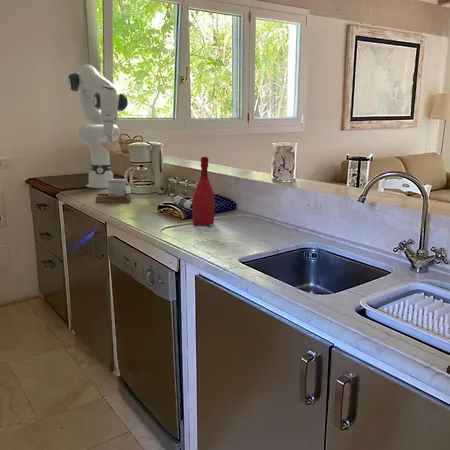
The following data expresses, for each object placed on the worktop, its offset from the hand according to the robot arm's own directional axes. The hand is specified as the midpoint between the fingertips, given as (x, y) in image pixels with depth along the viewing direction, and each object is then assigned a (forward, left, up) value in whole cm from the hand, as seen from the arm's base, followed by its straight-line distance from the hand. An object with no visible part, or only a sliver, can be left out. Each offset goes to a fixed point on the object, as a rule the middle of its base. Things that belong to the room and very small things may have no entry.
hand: (109, 142), depth 254 cm
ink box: (+10, +4, -30) cm, 32 cm away
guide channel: (+10, +2, -30) cm, 32 cm away
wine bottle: (+65, +44, -30) cm, 84 cm away
